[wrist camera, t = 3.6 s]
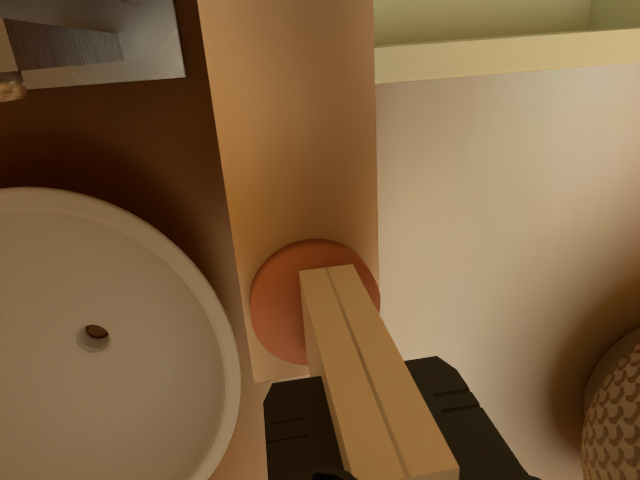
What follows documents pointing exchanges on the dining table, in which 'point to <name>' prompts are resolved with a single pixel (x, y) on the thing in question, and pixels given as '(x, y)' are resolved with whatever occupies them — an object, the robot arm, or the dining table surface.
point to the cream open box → (500, 36)
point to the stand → (86, 43)
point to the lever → (294, 156)
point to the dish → (107, 347)
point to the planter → (613, 414)
